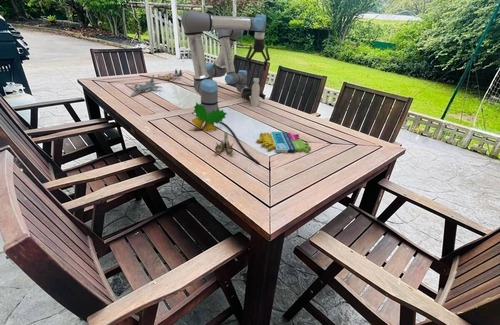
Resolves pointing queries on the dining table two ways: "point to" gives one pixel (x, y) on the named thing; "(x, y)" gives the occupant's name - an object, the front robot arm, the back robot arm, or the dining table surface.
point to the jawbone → (224, 145)
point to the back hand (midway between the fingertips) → (256, 98)
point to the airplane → (145, 87)
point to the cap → (256, 79)
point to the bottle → (255, 94)
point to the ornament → (207, 117)
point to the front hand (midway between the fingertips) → (257, 69)
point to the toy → (172, 75)
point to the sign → (283, 142)
